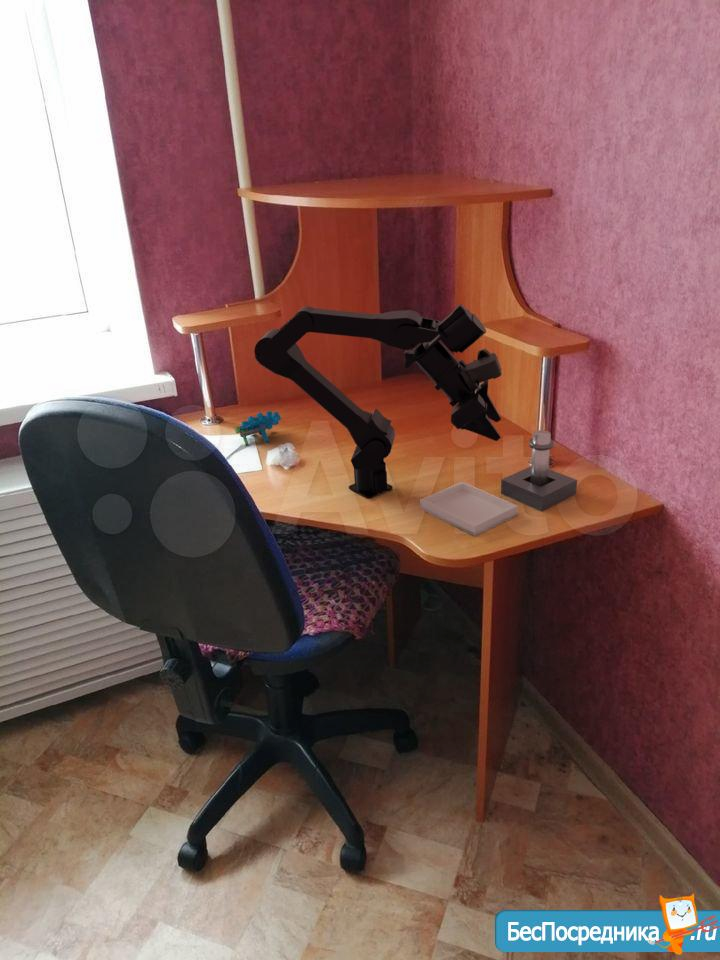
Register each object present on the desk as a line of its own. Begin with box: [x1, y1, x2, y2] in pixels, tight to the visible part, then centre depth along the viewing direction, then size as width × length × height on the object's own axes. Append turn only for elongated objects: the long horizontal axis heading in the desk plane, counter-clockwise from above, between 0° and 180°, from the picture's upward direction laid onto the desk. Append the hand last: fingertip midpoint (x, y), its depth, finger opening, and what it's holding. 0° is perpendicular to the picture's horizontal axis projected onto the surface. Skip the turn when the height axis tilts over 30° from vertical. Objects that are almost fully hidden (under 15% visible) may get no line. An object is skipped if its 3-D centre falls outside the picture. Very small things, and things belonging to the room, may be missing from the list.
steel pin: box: [528, 429, 554, 487], centre depth 142 cm, size 4×4×12 cm
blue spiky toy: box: [234, 410, 282, 445], centre depth 175 cm, size 11×6×10 cm
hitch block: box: [500, 466, 578, 512], centre depth 144 cm, size 10×10×3 cm
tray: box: [419, 481, 518, 537], centre depth 139 cm, size 14×11×2 cm
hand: (498, 429), depth 140 cm, fingers open, 9 cm apart
